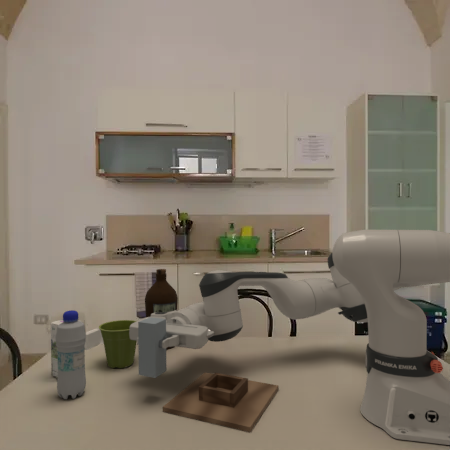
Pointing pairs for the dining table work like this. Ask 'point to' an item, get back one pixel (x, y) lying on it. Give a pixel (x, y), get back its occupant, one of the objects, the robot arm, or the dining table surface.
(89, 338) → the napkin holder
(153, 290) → the olive oil
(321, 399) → the dining table surface
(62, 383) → the bottle
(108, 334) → the plant pot
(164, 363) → the grey peg
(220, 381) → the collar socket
